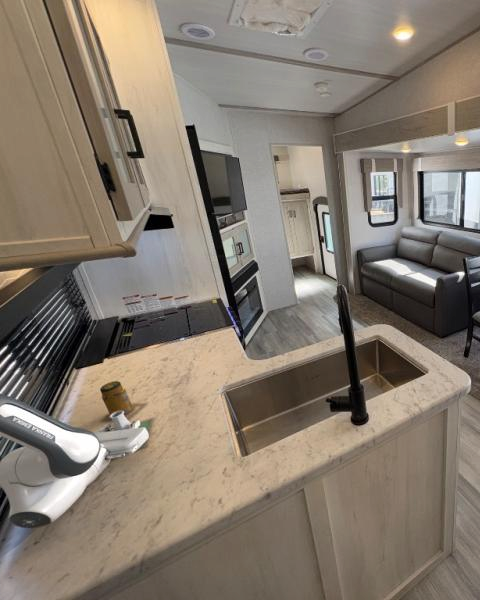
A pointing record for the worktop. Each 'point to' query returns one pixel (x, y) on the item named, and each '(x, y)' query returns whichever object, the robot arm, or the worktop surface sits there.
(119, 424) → the flask
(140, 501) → the worktop surface
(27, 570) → the worktop surface
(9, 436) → the robot arm
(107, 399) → the condiment
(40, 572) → the worktop surface
